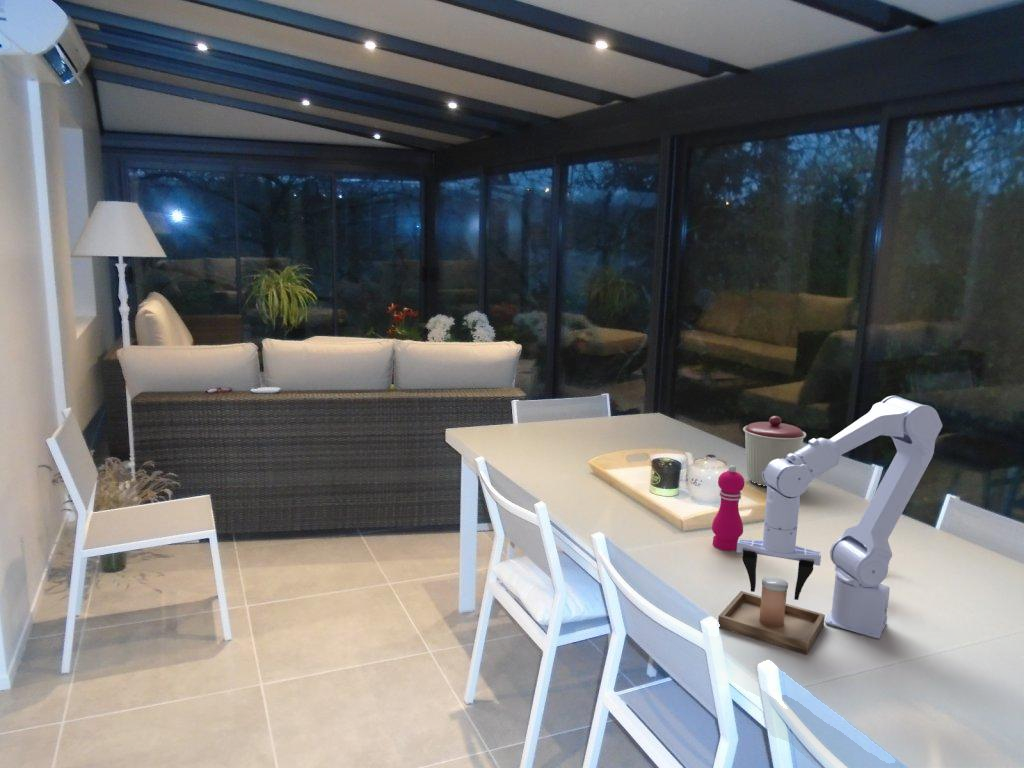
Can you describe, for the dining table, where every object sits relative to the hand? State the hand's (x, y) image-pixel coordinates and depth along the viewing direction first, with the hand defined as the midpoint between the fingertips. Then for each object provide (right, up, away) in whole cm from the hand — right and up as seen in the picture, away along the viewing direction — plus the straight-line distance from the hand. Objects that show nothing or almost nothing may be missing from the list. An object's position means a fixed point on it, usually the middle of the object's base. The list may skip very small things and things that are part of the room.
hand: (774, 593), depth 138 cm
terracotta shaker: (0, -6, +1) cm, 6 cm away
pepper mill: (+2, 0, +39) cm, 39 cm away
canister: (+30, +9, +89) cm, 94 cm away
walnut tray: (0, -7, +1) cm, 7 cm away
